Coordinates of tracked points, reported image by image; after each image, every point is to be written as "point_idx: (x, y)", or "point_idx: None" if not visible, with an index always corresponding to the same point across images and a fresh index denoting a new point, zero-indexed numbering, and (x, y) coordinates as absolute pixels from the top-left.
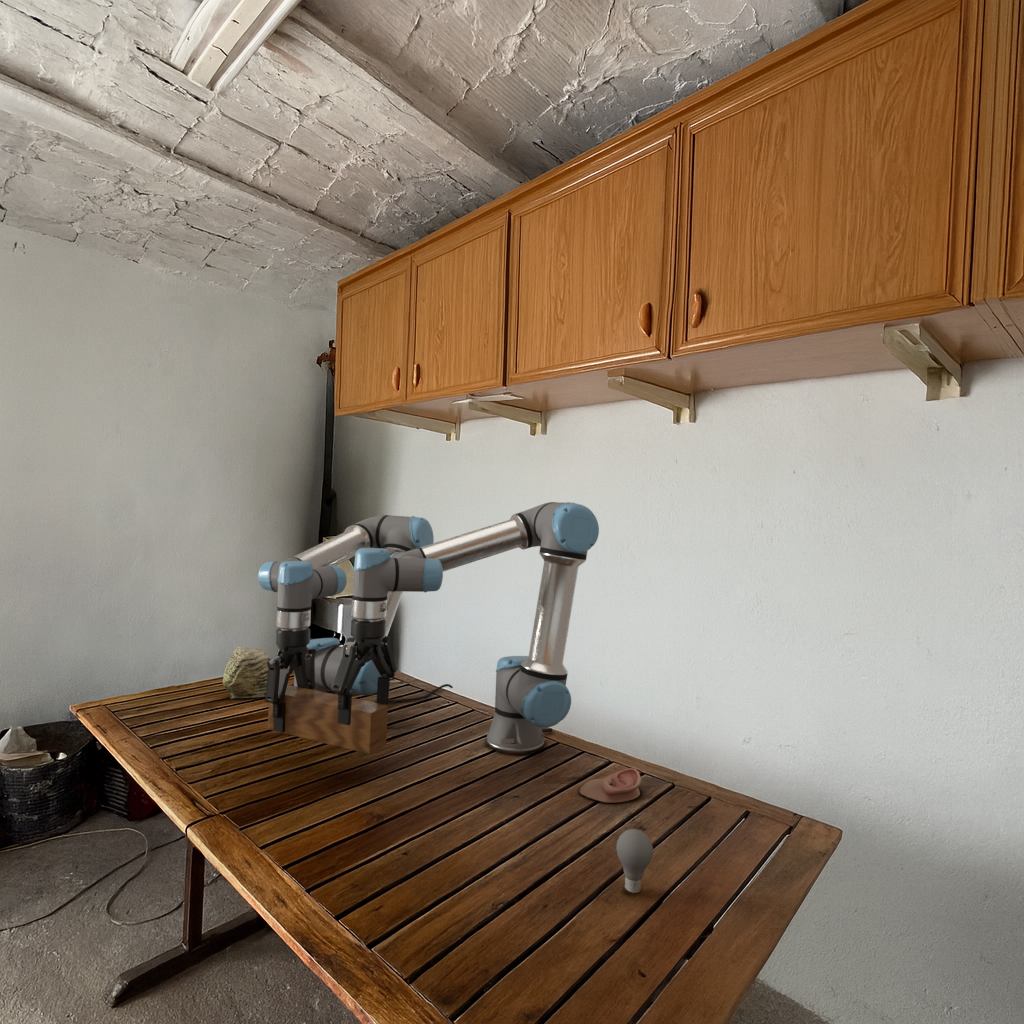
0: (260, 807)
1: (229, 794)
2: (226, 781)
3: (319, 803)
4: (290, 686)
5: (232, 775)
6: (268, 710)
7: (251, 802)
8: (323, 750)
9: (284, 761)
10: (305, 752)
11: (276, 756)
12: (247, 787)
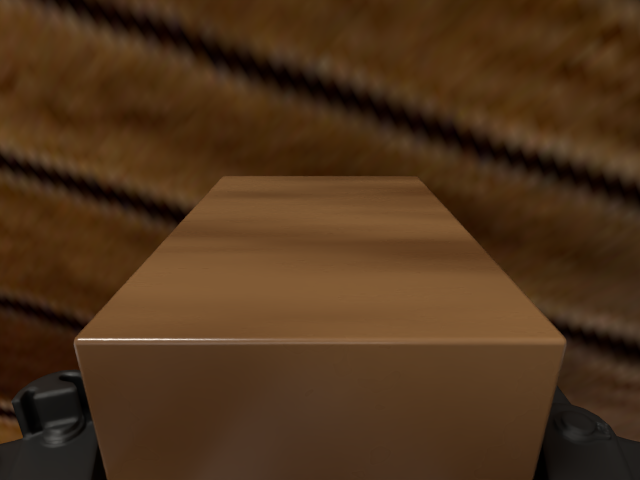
0: (30, 353)
1: (6, 201)
2: (60, 95)
3: None
4: (491, 429)
5: (112, 68)
6: (179, 224)
7: (29, 308)
8: (521, 225)
9: (346, 161)
10: (470, 172)
11: (373, 85)
12: (86, 214)
